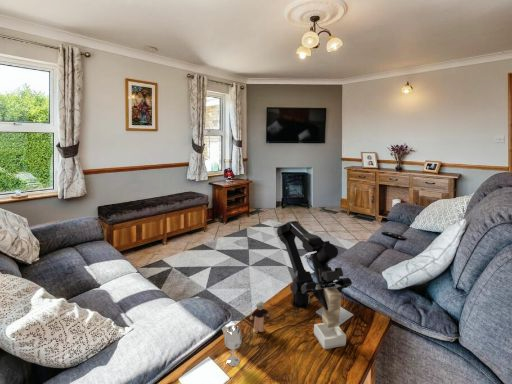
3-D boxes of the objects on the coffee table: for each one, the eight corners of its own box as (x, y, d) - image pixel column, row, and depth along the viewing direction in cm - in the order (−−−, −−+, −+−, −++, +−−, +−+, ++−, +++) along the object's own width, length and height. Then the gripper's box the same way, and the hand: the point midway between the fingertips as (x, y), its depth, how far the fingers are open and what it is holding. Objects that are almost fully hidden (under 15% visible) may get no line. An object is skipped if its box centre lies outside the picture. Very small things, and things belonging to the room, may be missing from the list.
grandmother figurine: (253, 336, 109) (253, 306, 106) (248, 330, 112) (249, 301, 109) (270, 330, 112) (271, 301, 110) (265, 324, 115) (266, 296, 113)
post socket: (324, 349, 103) (324, 339, 102) (313, 333, 111) (314, 324, 110) (345, 345, 105) (346, 335, 104) (333, 330, 113) (334, 321, 112)
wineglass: (224, 355, 99) (224, 324, 97) (241, 354, 100) (241, 323, 97) (224, 368, 94) (224, 336, 91) (242, 367, 94) (242, 335, 92)
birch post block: (327, 327, 104) (330, 295, 101) (321, 320, 108) (324, 288, 105) (338, 326, 105) (341, 293, 102) (332, 318, 109) (335, 287, 106)
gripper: (305, 262, 103) (317, 307, 95) (351, 257, 108) (366, 300, 99) (296, 272, 112) (306, 314, 104) (339, 267, 117) (352, 307, 108)
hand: (333, 309), depth 104 cm, fingers closed on birch post block, 4 cm apart
